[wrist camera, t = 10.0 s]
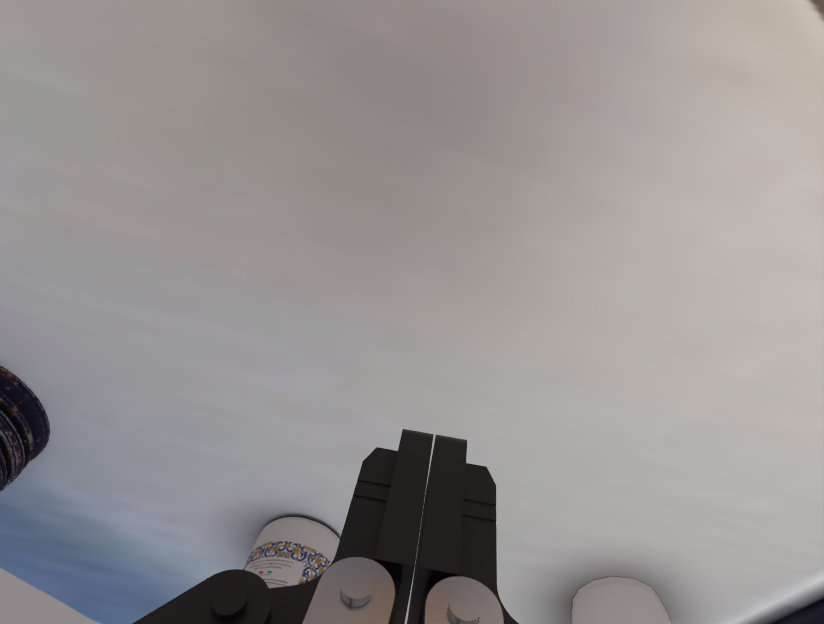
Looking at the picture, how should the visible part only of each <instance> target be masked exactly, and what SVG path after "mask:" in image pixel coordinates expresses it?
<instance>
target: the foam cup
mask: <svg viewBox="0 0 824 624" xmlns="http://www.w3.org/2000/svg"><path fill="white" fill-rule="evenodd" d="M572 624H671V622H670V620H669V617H668V615H667V613H666V611H665V608H664V606H663V605H662V604H661V601H660V598H659V597H658V595H657V594H656V593H655V592H654V591H653V589H652V588H651V587H650V586H648V585H646V584H644V583H641V582H639V581H637V580H635V579H630V578H622V577H608V578H603V579H598V580H593V581H592V582H590V583H588V584H587V585H585V586H583V587H582V588H580V589H579V590H578V592H577V594H576V595H575V597H574V599H573V608H572Z"/></svg>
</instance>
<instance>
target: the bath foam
mask: <svg viewBox="0 0 824 624" xmlns="http://www.w3.org/2000/svg"><path fill="white" fill-rule="evenodd" d="M339 542H340V539H339V538H338V537H337V536H336V535H335V534H334V533H333V532H332V531H331V530H330V529H329V528H327V527H326V526H324V525H322V524H320V523H318V522H315V521H312V520H309V519H306V518H301V517H285V518H281V519H277V520H275V521H273V522H271V523H269V524H268V525H267V526H266V527H264V529H263V530H262V531H261V533H260V534H259V536H258V538H257V540H256V543H255V545H254V547H253V549H252V551H251V554H250V556H249V558H248V560H247V562H246V565H245V567H244V569H243V570H246V571H250V572H253V573H255V574H257V575H258V576H260V577H261V578H262V579H263V580H264V581H265V582H266V584H267V585H268V587H269V588H276V587H284V586H292V585H298V584H302V583H305V582H308V581H310V580H312V579H314V578H316V577H318V576H319V575H321V574H322V573H323V572H324V571H325V570H326V569H327V568H328V567H329V566H330V564H331V563H332V561H333V559H334V557H335V555H336V552H337V548H338V545H339Z"/></svg>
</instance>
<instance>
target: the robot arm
mask: <svg viewBox="0 0 824 624" xmlns="http://www.w3.org/2000/svg"><path fill="white" fill-rule="evenodd" d="M432 441H433V434H429V433H423V432H417V431H412V430H406V429H403V431H402V435H401V440H400V444H399V449H398V451H394V450H389V449H383V448H377V447H376V449H375V450H374V451H373V452H372V453H371V454H370V455H369V456H368V457H367V458H366V459H365V460H364V461H363V463H362V467H361V470H360V473H359V477H358V481H357V484H356V487H355V490H354V494H353V498H352V501H351V504H350V507H349V511H348V514H347V518H346V521H345V525H344V528H343V531H342V535H341V538H340V542H339V545H338V548H337V552H336V555H335V557H334V559H333V561H332V563H331V564H330V566H329V567H328V568H327V569H326V570H325V571H324V572H323V573H322V574H321V575H319V576H318V577H316V578H314V579H312V580H310V581H308V582H305V583H302V584H298V585H292V586H284V587H276V588H269V587H268V585H267V584H266V582H265V581H264V580H263V579H262V578H261V577H260V576H258V575H257V574H255V573H253V572H250V571H246V570H239V569H235V570H227V571H223V572H220V573H217V574H215V575H213V576H211V577H209V578H207V579H206V580H204V581H202V582H201V583H199V584H198V585H196V586H194V587H193V588H191V589H189V590H188V591H186V592H184V593H183V594H181V595H179V596H178V597H176V598H174V599H173V600H171V601H169V602H168V603H166V604H164V605H163V606H161V607H159V608H158V609H156V610H154V611H153V612H151V613H149V614H148V615H146V616H144V617H143V618H141V619H140V620H138V621H136V622H135V623H133V624H404V623H405V618H406V612H407V606H408V601H409V595H410V590H411V584H412V579H413V585H412V592H411V599H410V606H409V613H408V620H407V624H518V623H517V622H516V621H515V620H514V619H513V618H512V617H511V616H510V615H509V613H508V612H507V611H506V610H505V608H504V606H503V604H502V603H501V600H500V598H499V595H498V591H497V564H496V485H495V483H494V481H493V479H492V477H491V475H490V473H489V471H488V469H487V467H484V466H479V465H473V464H467V463H466V452H467V440H464V439H458V438H452V437H447V436H441V435H436V438H435V443H434V449H433V454H432V460H431V466H430V471H429V477H428V470H429V463H430V456H431V449H432ZM427 477H428V483H427ZM426 484H427V489H426ZM425 491H426V495H425ZM424 498H425V501H424ZM423 505H424V508H423ZM422 512H423V514H422ZM421 519H422V522H421ZM420 526H421V529H420ZM419 533H420V536H419ZM418 540H419V543H418ZM417 547H418V550H417ZM416 554H417V557H416ZM415 561H416V564H415ZM414 568H415V571H414ZM413 573H414V578H413Z"/></svg>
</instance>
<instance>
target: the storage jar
mask: <svg viewBox="0 0 824 624" xmlns="http://www.w3.org/2000/svg"><path fill="white" fill-rule="evenodd" d="M49 434H50V428H49V422H48V418H47V415H46V413H45V410H44V408H43V406H42V405H41V403H40V401H39V400H38V398H37V397H36V396H35V394H34V393H33V392H32V391H31V390H30V389H29V388H28V387H27V385H26V384H25V383H23V382H22V381H21V380H20V379H19V378H18V377H16V376H15V375H14V374H12V373H11V372H9V371H8V370H6V369H5V368H3V367H1V366H0V492H1V491H2V490H4V489H5V488H6V487H7V486H8V485H9V484H10V483H11V482H12V481H14V479H16V478H17V477H18V475H19V474H20V473H21V471H22V470H23V469H24V468H25V467H26V466H27V464H28V463H29V462H30V461H31V460H32V459H34V458H35V457H36V456H37V455H38V454H39V453H41V452H42V450H43V449H44V448H45V447H46V445H47V442H48V440H49Z"/></svg>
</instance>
